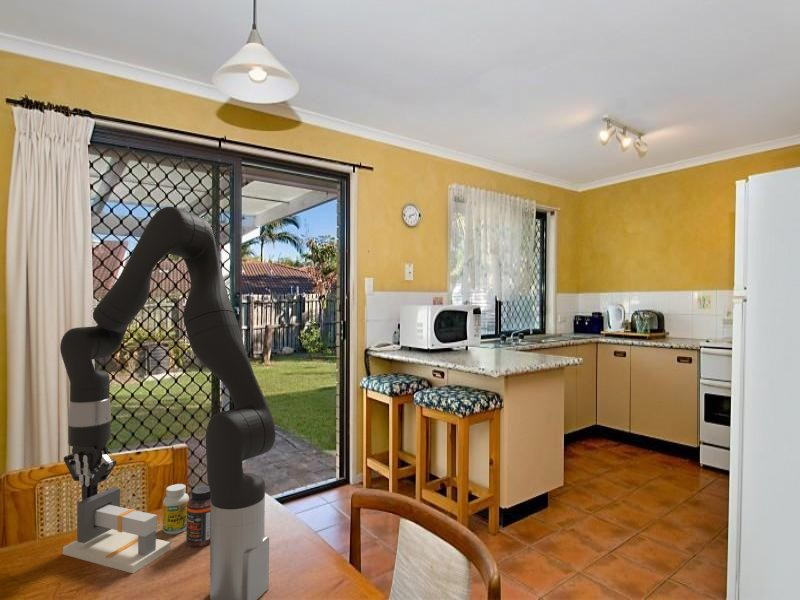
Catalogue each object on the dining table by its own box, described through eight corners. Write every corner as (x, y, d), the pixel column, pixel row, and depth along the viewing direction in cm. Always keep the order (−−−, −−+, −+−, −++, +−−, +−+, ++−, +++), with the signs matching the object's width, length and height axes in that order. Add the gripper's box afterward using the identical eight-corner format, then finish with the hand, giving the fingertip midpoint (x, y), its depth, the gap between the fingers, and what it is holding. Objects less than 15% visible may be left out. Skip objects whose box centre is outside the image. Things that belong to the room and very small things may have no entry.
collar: (119, 524, 101) (120, 488, 101) (84, 543, 93) (84, 504, 93) (113, 523, 102) (113, 487, 102) (77, 541, 94) (77, 502, 94)
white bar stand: (170, 549, 97) (170, 508, 97) (133, 573, 89) (133, 528, 88) (103, 533, 103) (104, 494, 103) (62, 554, 95) (63, 512, 95)
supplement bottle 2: (179, 545, 98) (180, 493, 98) (198, 531, 104) (198, 482, 104) (204, 549, 97) (204, 496, 97) (221, 535, 103) (222, 485, 103)
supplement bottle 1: (186, 521, 109) (187, 480, 109) (190, 530, 105) (191, 488, 105) (161, 527, 106) (161, 485, 106) (164, 537, 102) (164, 494, 102)
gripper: (129, 419, 99) (128, 499, 100) (84, 413, 104) (84, 490, 104) (96, 428, 92) (95, 514, 93) (49, 421, 97) (49, 504, 97)
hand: (89, 501), depth 98 cm, fingers closed
